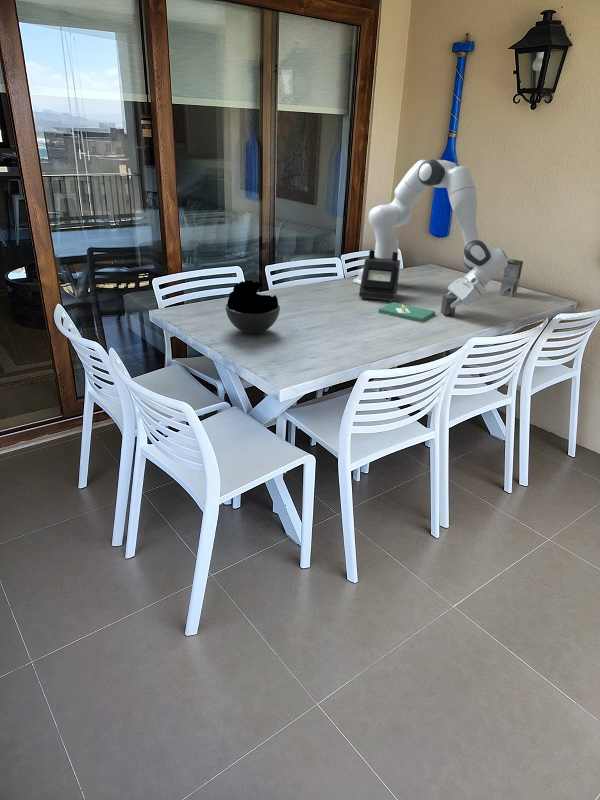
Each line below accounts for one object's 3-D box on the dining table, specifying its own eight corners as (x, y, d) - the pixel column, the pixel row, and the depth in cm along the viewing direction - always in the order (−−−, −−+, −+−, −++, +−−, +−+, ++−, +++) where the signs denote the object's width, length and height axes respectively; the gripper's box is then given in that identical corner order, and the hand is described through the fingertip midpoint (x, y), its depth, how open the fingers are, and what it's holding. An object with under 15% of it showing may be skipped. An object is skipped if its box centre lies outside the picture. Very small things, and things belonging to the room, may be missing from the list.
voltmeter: (358, 299, 249) (362, 255, 241) (363, 291, 264) (367, 249, 255) (393, 303, 246) (398, 259, 237) (396, 294, 261) (401, 252, 252)
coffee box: (503, 291, 273) (510, 258, 266) (516, 293, 270) (523, 260, 263) (498, 294, 267) (505, 261, 259) (511, 297, 263) (519, 263, 256)
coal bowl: (257, 320, 217) (257, 273, 209) (290, 334, 204) (291, 284, 195) (215, 329, 205) (214, 280, 196) (247, 345, 192) (246, 292, 183)
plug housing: (440, 312, 236) (443, 294, 232) (450, 312, 236) (453, 294, 233) (444, 316, 231) (447, 297, 228) (454, 316, 232) (457, 298, 228)
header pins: (402, 311, 229) (403, 307, 228) (400, 309, 233) (401, 304, 232) (405, 311, 229) (405, 307, 229) (402, 309, 233) (403, 304, 232)
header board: (378, 312, 233) (378, 308, 232) (393, 305, 243) (393, 301, 242) (421, 322, 222) (421, 318, 222) (434, 314, 233) (435, 310, 232)
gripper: (461, 270, 236) (435, 292, 240) (478, 282, 218) (450, 305, 221) (469, 280, 239) (444, 302, 242) (487, 293, 220) (459, 316, 224)
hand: (447, 304), depth 232 cm, fingers open, 7 cm apart
